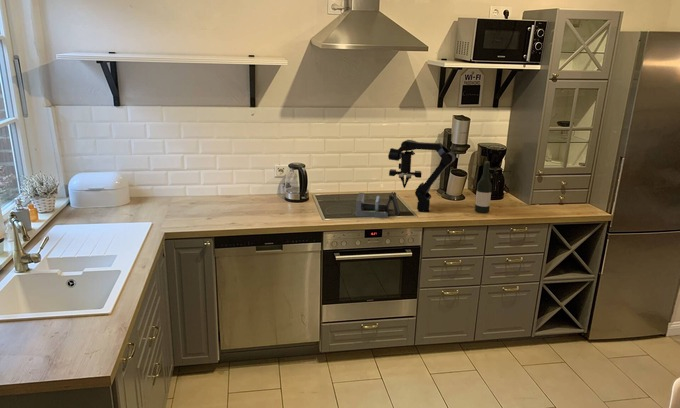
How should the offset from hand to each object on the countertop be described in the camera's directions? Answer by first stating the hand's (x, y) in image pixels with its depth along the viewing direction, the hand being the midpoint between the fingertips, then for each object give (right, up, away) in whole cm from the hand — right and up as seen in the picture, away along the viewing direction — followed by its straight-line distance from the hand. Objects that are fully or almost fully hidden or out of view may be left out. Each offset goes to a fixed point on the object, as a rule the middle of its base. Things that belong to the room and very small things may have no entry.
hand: (404, 187), depth 303 cm
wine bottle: (+45, -14, 0) cm, 48 cm away
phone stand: (-8, -15, -8) cm, 19 cm away
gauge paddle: (-17, -15, -12) cm, 26 cm away
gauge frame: (-18, -15, -9) cm, 25 cm away
